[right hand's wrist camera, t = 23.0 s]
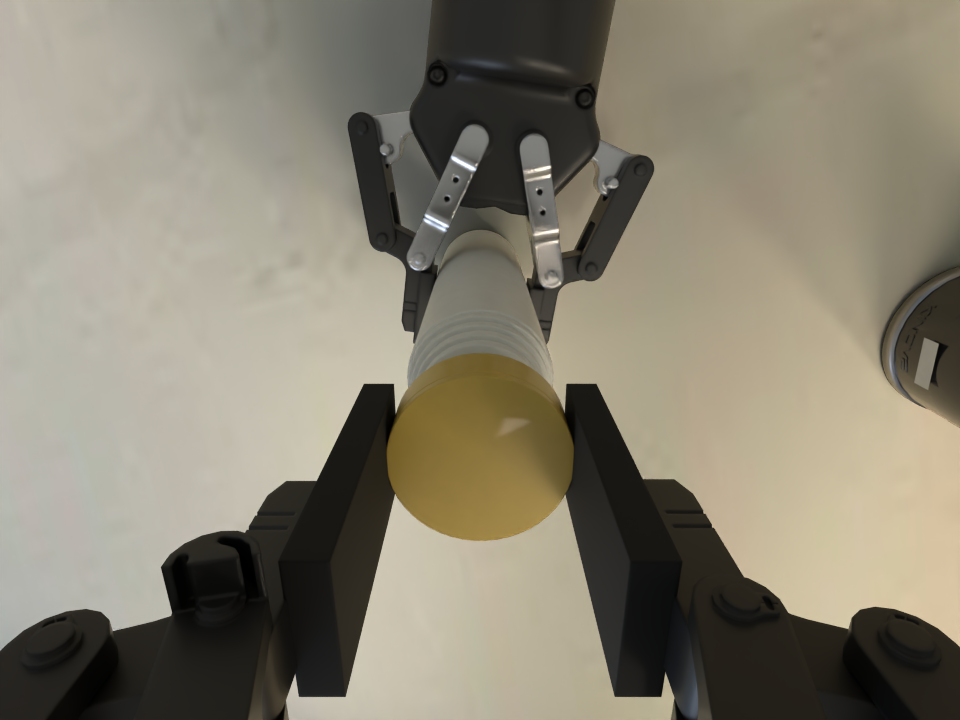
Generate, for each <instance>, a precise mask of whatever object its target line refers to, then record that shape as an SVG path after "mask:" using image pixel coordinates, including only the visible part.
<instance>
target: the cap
mask: <svg viewBox="0 0 960 720" xmlns="http://www.w3.org/2000/svg"><path fill="white" fill-rule="evenodd" d="M573 457H574V444H573V439H572V435H571V432H570V429H569V426H568V423H567V419H566V416H565V413H564V410H563V407H562V405H561V402H560V400H559V398H558V396H557V394H556V392H555V391H554V389H553V388H552V387H551V385H550V384H549V383H548V382H547V381H546V380H545V379H544V378H543V377H542V376H541V375H540V374H539V373H538V372H536V371H535V370H533V369H532V368H531V367H529V366H527V365H525V364H524V363H522V362H520V361H517V360H515V359H512V358H509V357H505V356H502V355H497V354H489V353H472V354H463V355H459V356H455V357H451V358H449V359H446V360H444V361H441V362H439V363H437V364H435V365H434V366H432V367H430V368H429V369H427V370H426V371H425V372H423V373H422V374H421V375H420V376H419V377H418V378H417V379H415V380H414V382H413V383H412V384H411V385H410V386H409V388H408V389H407V391H406V392H405V394H404V396H403V397H402V399H401V402H400V404H399V406H398V409H397V412H396V416H395V419H394V422H393V425H392V428H391V432H390V435H389V439H388V443H387V466H388V478H389V481H390V483H391V486H392V489H393V490H394V492H395V494H396V496H397V498H398V499H399V501H400V502H401V503H402V505H403V506H404V507H405V508H406V509H407V511H408V512H409V513H410V514H411V515H412V516H414V517H415V518H416V519H417V520H419V521H420V522H421V523H423V524H424V525H426V526H427V527H429V528H431V529H433V530H435V531H437V532H439V533H442V534H445V535H448V536H450V537H455V538H459V539H464V540H473V541H487V540H497V539H502V538H506V537H510V536H513V535H516V534H519V533H521V532H524V531H526V530H528V529H530V528H532V527H533V526H535V525H537V524H538V523H540V522H541V521H542V520H543V519H545V518H546V517H547V516H548V515H549V514H550V513H551V512H552V511H553V510H554V509H555V508H556V507H557V506H558V504H559V503H560V502H561V500H562V499H563V497H564V496H565V494H566V492H567V490H568V488H569V485H570V483H571V480H572V472H573Z"/></svg>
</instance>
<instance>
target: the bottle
mask: <svg viewBox="0 0 960 720" xmlns="http://www.w3.org/2000/svg"><path fill="white" fill-rule="evenodd" d="M472 353H489V354H497V355H502V356H505V357H509V358H512V359H515V360H517V361H520V362H522V363H524V364H525V365H527V366H529V367H531V368H532V369H533V370H535V371H536V372H538V373H539V374H540V375H541V376H542V377H543V378H544V379H545V380H546V381H547V382H548V383H549V384H550V385H551V387H552V388H553V367H552V362H551V358H550V355H549V352H548V349H547V346H546V343H545V340H544V337H543V334H542V331H541V328H540V325H539V322H538V319H537V316H536V312H535V309H534V306H533V303H532V300H531V297H530V294H529V291H528V288H527V285H526V282H525V279H524V276H523V273H522V270H521V267H520V264H519V261H518V258H517V255H516V253H515V251H514V249H513V247H512V246H511V244H510V243H509V242H508V241H507V240H506V239H505V238H503V237H502V236H501V235H499V234H497V233H494V232H492V231H487V230H473V231H469V232H466V233H464V234H462V235H460V236H459V237H457V238H456V239H455V240H454V241H453V242H452V243H451V244H450V245H449V247H448V248H447V250H446V252H445V254H444V257H443V260H442V263H441V266H440V269H439V272H438V275H437V278H436V281H435V284H434V287H433V290H432V293H431V296H430V299H429V302H428V305H427V308H426V312H425V315H424V318H423V321H422V324H421V327H420V330H419V333H418V336H417V339H416V342H415V345H414V348H413V351H412V354H411V357H410V360H409V365H408V376H407V378H408V388H409V386H410V385H411V384H412V383H413V382H414V380H415V379H417V378H418V377H419V376H420V375H421V374H422V373H423V372H425V371H426V370H427V369H429V368H430V367H432V366H434V365H435V364H437V363H439V362H441V361H444V360H446V359H449V358H451V357H455V356H459V355H463V354H472Z"/></svg>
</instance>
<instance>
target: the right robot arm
mask: <svg viewBox="0 0 960 720" xmlns="http://www.w3.org/2000/svg"><path fill="white" fill-rule="evenodd" d="M395 416H396V412H395V395H394V384H364V385H363V387H362V389H361V391H360V393H359V395H358V397H357V399H356V401H355V404H354V406H353V408H352V410H351V412H350V414H349V416H348V418H347V420H346V422H345V424H344V426H343V428H342V430H341V432H340V434H339V436H338V439H337V441H336V443H335V445H334V447H333V449H332V451H331V453H330V455H329V457H328V459H327V461H326V463H325V465H324V467H323V469H322V471H321V474H320V476H319V478H318V480H317V481H286V482H285V483H283V484H282V485H281V486H279V487H278V488H277V489H276V490H274V491H273V492H272V493H270V494H269V495H268V496H267V497H266V499H265V501H264V502H263V504H262V506H261V507H260V509H259V511H258V512H257V516H255V517H254V519H253V521H252V522H251V524H250V525H249V530H246V532H245V533H243V532H240V531H219V532H215V533H211V534H207V535H203V536H200V537H198V538H196V539H194V540H192V541H189V542H187V543H185V544H183V545H182V546H181V547H179V548H178V549H177V550H175V551H174V552H173V553H171V554H170V555H169V557H168V558H167V559H166V561H165V562H164V564H163V565H162V566H161V569H162V573H163V577H164V581H165V586H166V590H167V594H168V598H169V602H170V606H171V610H172V615H171V616H170V617H167V618H163V619H160V620H157V621H154V622H150V623H146V624H141V625H137V626H133V627H129V628H125V629H121V630H116V631H112V628H111V624H110V621H109V619H108V618H107V617H106V616H105V615H104V614H102V613H101V612H98V611H93V610H88V609H83V610H75V611H67V612H64V613H61V614H58V615H55V616H52V617H49V618H46V619H44V620H42V621H40V622H39V623H37V624H35V625H33V626H31V627H30V628H28V629H26V630H24V631H23V632H22V633H20V634H19V635H18V636H17V637H15V638H14V639H13V640H12V641H11V642H9V643H8V644H7V645H6V646H5V647H4V648H3V649H2V650H1V651H0V720H289V718H288V711H287V704H286V698H287V696H288V693H289V690H290V687H291V684H292V681H293V678H294V676H295V674H296V681H297V687H298V693H299V697H346V693H347V689H348V685H349V681H350V676H351V672H352V668H353V664H354V660H355V656H356V652H357V648H358V644H359V640H360V635H361V631H362V627H363V623H364V619H365V615H366V611H367V607H368V603H369V598H370V594H371V590H372V586H373V582H374V578H375V574H376V570H377V566H378V562H379V557H380V553H381V549H382V545H383V541H384V537H385V533H386V529H387V525H388V520H389V516H390V512H391V508H392V504H393V500H394V496H395V492H394V490H393V489H392V486H391V483H390V481H389V478H388V466H387V443H388V439H389V435H390V432H391V428H392V425H393V422H394V419H395ZM565 416H566V419H567V423H568V426H569V429H570V432H571V435H572V439H573V444H574V457H573V472H572V480H571V483H570V485H569V488H568V490H567V492H566V499H567V503H568V507H569V511H570V515H571V519H572V523H573V527H574V531H575V535H576V540H577V544H578V548H579V552H580V556H581V560H582V564H583V568H584V572H585V576H586V581H587V585H588V589H589V593H590V597H591V601H592V605H593V609H594V613H595V618H596V622H597V626H598V630H599V634H600V638H601V642H602V646H603V650H604V654H605V659H606V663H607V667H608V671H609V675H610V679H611V683H612V687H613V691H614V695H615V697H661V696H662V689H663V683H664V677H665V672H666V675H667V677H668V680H669V683H670V686H671V689H672V692H673V695H674V697H675V699H674V704H673V710H672V716H671V720H960V647H959V646H958V645H957V644H956V643H955V642H954V641H952V640H951V639H950V638H949V637H948V636H946V635H945V634H944V633H943V632H941V631H940V630H939V629H938V628H936V627H934V626H932V625H931V624H929V623H927V622H925V621H923V620H921V619H920V618H918V617H916V616H913V615H910V614H907V613H904V612H901V611H898V610H895V609H889V608H880V607H872V608H867V609H861V610H859V611H858V612H857V613H856V614H855V615H854V616H853V617H852V619H851V622H850V626H849V629H845V628H841V627H837V626H833V625H829V624H824V623H820V622H816V621H812V620H808V619H804V618H801V617H798V616H795V615H792V614H789V613H788V612H787V610H786V609H785V607H784V605H783V604H782V602H781V601H780V599H779V598H778V597H777V596H775V595H774V594H773V593H772V592H771V591H770V590H768V589H767V588H766V587H764V586H762V585H760V584H758V583H756V582H754V581H753V580H751V579H749V578H745V577H744V576H743V575H742V573H741V572H740V570H739V568H738V567H737V565H736V563H735V562H734V560H733V558H732V557H731V555H730V554H729V552H728V550H727V549H726V547H725V545H724V544H723V542H722V540H721V539H720V537H719V536H718V534H717V532H716V531H715V529H714V528H712V524H711V522H710V521H709V519H708V518H707V516H706V514H703V509H702V508H701V506H700V504H699V503H698V501H697V499H696V498H695V496H694V495H693V493H691V492H690V491H689V490H687V489H686V488H685V487H683V486H682V485H681V484H680V483H678V482H677V481H676V480H674V479H642V477H641V475H640V473H639V471H638V469H637V467H636V464H635V462H634V460H633V458H632V456H631V454H630V452H629V450H628V448H627V446H626V444H625V442H624V440H623V438H622V436H621V434H620V432H619V429H618V427H617V425H616V423H615V421H614V419H613V417H612V415H611V413H610V411H609V409H608V407H607V405H606V403H605V401H604V399H603V397H602V395H601V392H600V390H599V388H598V386H597V384H567V385H566V402H565Z"/></svg>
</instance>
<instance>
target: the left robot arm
mask: <svg viewBox="0 0 960 720" xmlns="http://www.w3.org/2000/svg"><path fill="white" fill-rule="evenodd" d="M614 4H615V0H432V9H431V19H430V30H429V40H428V51H427V61H426V72H425V78H424V82H423V85H422V88H421V90H420V92H419V94H418V96H417V97H416V99H415V100H414V102H413V103H412V106H411V109H410V111H404V112H396V113H389V114H382V115H371V114H367V113H363V112H358V113H355V114H354V115H352V116H351V118H350V119H349V122H348V131H349V136H350V142H351V147H352V152H353V157H354V162H355V168H356V173H357V178H358V183H359V188H360V194H361V199H362V204H363V209H364V215H365V220H366V225H367V230H368V235H369V241H370V243H371V245H372V247H373V248H374V249H376V250H378V251H381V252H387V253H389V254H391V255H393V256H395V257H396V258H398V259H399V260H401V261H402V263H403V264H404V266H405V269H406V281H405V291H404V302H403V312H402V323H403V327H404V330H405V331H410V332H414V339H413V343H414V344H415V342H416V339H417V336H418V333H419V330H420V327H421V324H422V321H423V318H424V315H425V312H426V308H427V305H428V302H429V299H430V296H431V293H432V290H433V287H434V284H435V281H436V278H437V270H438V265H434V261H435V255H436V253H437V251H438V249H439V247H440V244H441V242H442V240H443V238H444V236H445V234H446V232H447V230H448V228H449V226H450V224H451V222H452V220H453V217H454V215H455V213H456V211H457V209H458V207H459V205H460V206H462V207H469V208H476V209H477V208H485V207H497V208H499V209H502V210H504V211H506V212H509V213H511V214H518V215H525V217H526V224H527V229H528V234H529V239H530V245H531V252H532V258H533V265H534V269H533V274H532V279H530V278H527V283H526V285H527V288H528V291H529V294H530V297H531V300H532V303H533V306H534V309H535V312H536V316H537V319H538V322H539V325H540V328H541V331H542V334H543V337H544V340H545V343H546V344H547V343H548V341H549V337H550V332H551V326H552V321H553V316H554V311H555V305H556V300H557V295H558V292H559V290H560V289H561V288H562V287H563V286H564V285H565V284H567V283H570V282H574V281H579V280H586V281H595V280H597V279H598V278H600V277H601V275H602V274H603V272H604V270H605V268H606V266H607V264H608V262H609V260H610V258H611V256H612V254H613V252H614V250H615V248H616V246H617V244H618V242H619V240H620V238H621V236H622V234H623V232H624V230H625V228H626V226H627V224H628V222H629V220H630V219H631V217H632V215H633V213H634V211H635V209H636V207H637V205H638V203H639V201H640V199H641V197H642V195H643V193H644V191H645V189H646V187H647V185H648V183H649V181H650V179H651V177H652V175H653V172H654V165H653V162H652V160H651V159H650V158H648V157H647V156H642V155H638V154H630V153H628V152H625V151H623V150H621V149H619V148H617V147H615V146H613V145H611V144H608V143H606V142H604V141H602V140H600V131H599V128H598V124H597V121H596V114H595V104H596V97H597V92H598V87H599V81H600V76H601V71H602V66H603V61H604V56H605V50H606V45H607V40H608V35H609V30H610V25H611V19H612V14H613V9H614ZM410 134H414V136H415V137H416V139H417V141H418V143H419V145H420V147H421V149H422V151H423V153H424V154H425V156H426V158H427V160H428V162H429V164H430V166H431V168H432V169H433V171H434V173H435V175H436V177H437V179H438V181H439V184H438V186H437V188H436V191H435V193H434V195H433V197H432V199H431V202H430V204H429V206H428V208H427V210H426V213H425V215H424V217H423V220H422V222H421V224H420V227H419V229H418V231H417V233H414V232H413V231H411V230H409V229H407V228H405V227H403V226H401V221H400V215H399V209H398V204H397V198H396V192H395V186H394V180H393V174H392V168H391V163H395V162H397V161H398V160H399V159H400V158H401V157H402V154H403V143H404V141H405V139H406V138H407V137H408V136H409V135H410ZM589 161H591V162H592V163H593V164H594V166H595V177H594V181H593V184H594V188H595V190H596V191H597V192H598V193H600V194H601V195H600V197H599V199H598V201H597V203H596V205H595V207H594V209H593V211H592V214H591V216H590V218H589V220H588V222H587V224H586V226H585V228H584V230H583V232H582V234H581V236H580V238H579V240H578V243H577V245H576V247H575V249H574V250H573V251H568V252H563V253H561V249H560V242H559V226H558V219H557V211H556V204H555V196H556V195H557V194H558V193H559V192H560V191H561V190H562V189H563V188H564V187H565V186H566V185H567V184H568V183H569V182H570V181H571V180H572V179H573V178H574V177H575V176H576V175H577V174H578V172H579V171H580V170H581V169H582V168H583V167H584V166H585V165H586V164H587V163H588V162H589ZM882 362H883V368H884V371H885V374H886V376H887V379H888V380H889V382H890V384H891V385H892V386H893V388H894V389H895V390H896V391H897V392H898V393H900V394H901V395H902V396H904V397H905V398H907V399H909V400H910V401H912V402H914V403H915V404H917V405H919V406H921V407H924V408H926V409H929V410H931V411H932V412H934V413H936V414H938V415H939V416H941V417H943V418H944V419H946V420H948V421H949V422H951V423H952V424H954V425H956V426H957V427H959V428H960V267H957V268H953V269H951V270H948V271H946V272H943V273H941V274H939V275H937V276H936V277H934V278H932V279H930V280H929V281H927V282H926V283H924V284H923V285H922V286H920V287H919V288H918V289H917V290H916V291H914V292H913V293H912V294H911V295H910V296H909V297H908V298H907V299H906V300H905V301H904V303H903V304H902V305H901V306H900V308H899V309H898V311H897V312H896V313H895V315H894V317H893V318H892V320H891V322H890V324H889V326H888V329H887V331H886V334H885V338H884V342H883V348H882Z"/></svg>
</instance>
